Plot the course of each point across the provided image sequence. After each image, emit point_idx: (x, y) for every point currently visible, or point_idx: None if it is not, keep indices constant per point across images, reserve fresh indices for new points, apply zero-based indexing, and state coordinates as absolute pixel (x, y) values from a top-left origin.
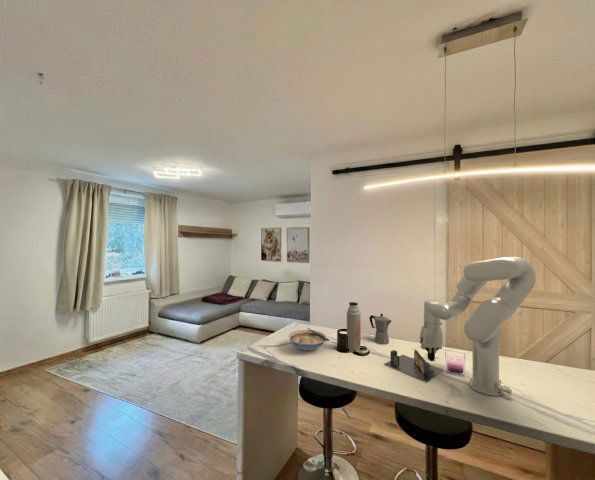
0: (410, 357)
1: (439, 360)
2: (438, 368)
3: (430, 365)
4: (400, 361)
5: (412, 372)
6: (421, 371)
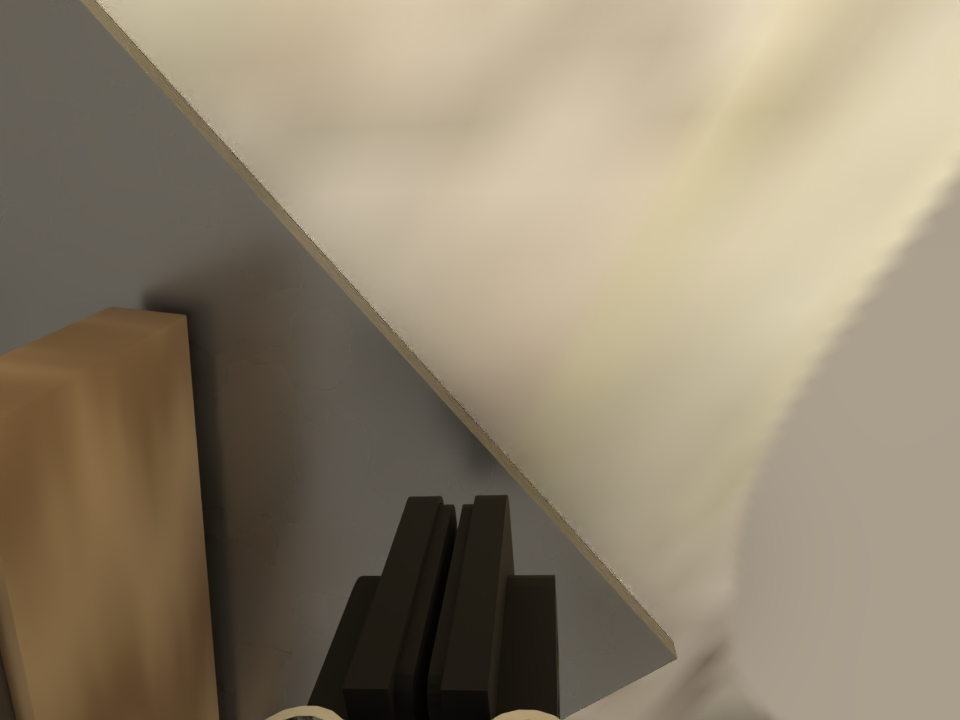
0: (78, 8)
1: (951, 124)
2: (582, 610)
3: (466, 486)
4: None
5: None
6: None
